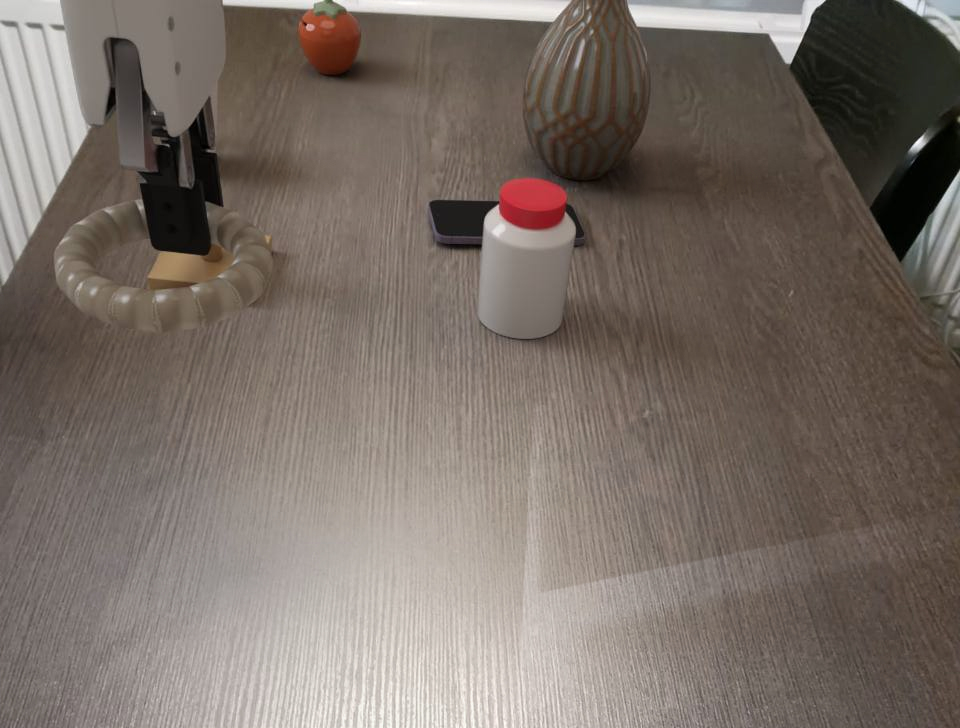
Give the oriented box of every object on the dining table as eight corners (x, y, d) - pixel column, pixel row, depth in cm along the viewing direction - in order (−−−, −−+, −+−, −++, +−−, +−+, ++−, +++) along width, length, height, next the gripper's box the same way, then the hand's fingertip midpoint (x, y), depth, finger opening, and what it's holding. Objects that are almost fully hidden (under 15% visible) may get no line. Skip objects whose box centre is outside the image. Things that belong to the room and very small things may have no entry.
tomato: (300, 55, 119) (295, -20, 113) (361, 57, 120) (359, -17, 114) (299, 80, 115) (294, 4, 108) (362, 82, 116) (361, 6, 109)
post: (150, 293, 85) (121, 160, 76) (177, 240, 90) (153, 111, 82) (252, 303, 85) (236, 172, 76) (273, 250, 91) (260, 122, 82)
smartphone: (588, 239, 95) (436, 236, 92) (586, 250, 95) (436, 248, 93) (571, 202, 99) (426, 198, 96) (569, 212, 100) (426, 209, 97)
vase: (607, 135, 111) (637, -44, 98) (655, 190, 104) (694, 4, 90) (500, 143, 108) (516, -41, 94) (541, 200, 100) (564, 9, 87)
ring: (28, 325, 48) (16, 289, 47) (99, 215, 55) (91, 180, 54) (247, 350, 48) (243, 315, 47) (291, 238, 55) (288, 204, 54)
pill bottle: (498, 346, 83) (510, 223, 75) (463, 298, 88) (471, 177, 79) (577, 330, 86) (597, 210, 77) (539, 285, 90) (555, 166, 82)
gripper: (95, -234, 45) (163, 162, 60) (-48, -144, 35) (75, 308, 49) (255, -214, 45) (284, 177, 60) (158, -119, 35) (221, 324, 50)
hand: (189, 233), depth 54 cm, fingers closed on ring, 2 cm apart
